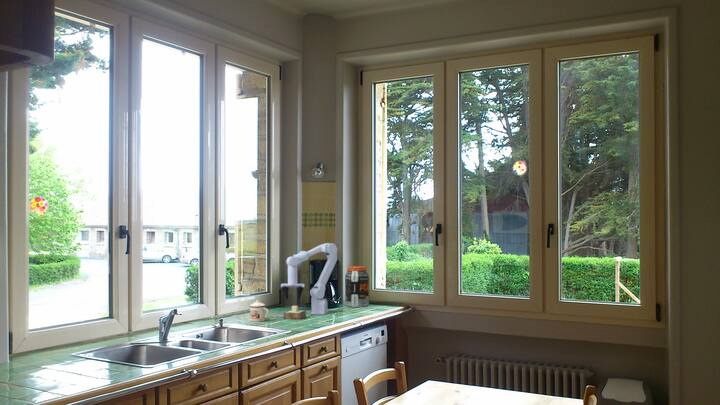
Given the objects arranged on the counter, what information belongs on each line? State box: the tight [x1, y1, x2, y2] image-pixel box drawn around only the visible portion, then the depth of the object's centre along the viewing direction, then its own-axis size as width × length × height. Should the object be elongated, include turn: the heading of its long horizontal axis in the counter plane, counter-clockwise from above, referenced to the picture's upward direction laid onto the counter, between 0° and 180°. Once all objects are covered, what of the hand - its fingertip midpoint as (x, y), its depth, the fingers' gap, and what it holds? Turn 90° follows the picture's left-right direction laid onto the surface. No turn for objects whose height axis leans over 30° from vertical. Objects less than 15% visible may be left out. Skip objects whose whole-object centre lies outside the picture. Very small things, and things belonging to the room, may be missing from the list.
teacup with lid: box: [249, 299, 270, 323], centre depth 375 cm, size 12×9×12 cm
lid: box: [285, 305, 304, 313], centre depth 384 cm, size 8×8×4 cm
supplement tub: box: [344, 265, 370, 308], centre depth 433 cm, size 16×16×26 cm
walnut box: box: [283, 309, 307, 320], centre depth 383 cm, size 10×10×4 cm
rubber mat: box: [268, 313, 284, 318], centre depth 392 cm, size 9×9×1 cm
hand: (292, 299), depth 393 cm, fingers open, 7 cm apart
